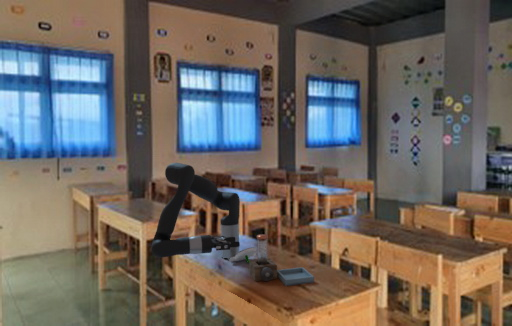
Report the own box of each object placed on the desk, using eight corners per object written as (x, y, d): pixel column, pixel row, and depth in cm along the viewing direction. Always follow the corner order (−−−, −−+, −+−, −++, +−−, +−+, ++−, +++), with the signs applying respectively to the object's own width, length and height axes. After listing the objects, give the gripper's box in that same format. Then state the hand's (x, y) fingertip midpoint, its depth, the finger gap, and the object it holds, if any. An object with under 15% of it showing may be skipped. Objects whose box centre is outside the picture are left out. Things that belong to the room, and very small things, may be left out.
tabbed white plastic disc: (251, 255, 210) (257, 239, 205) (259, 266, 205) (266, 250, 199) (226, 260, 202) (232, 244, 196) (234, 273, 196) (240, 256, 191)
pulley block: (249, 273, 186) (248, 260, 185) (270, 271, 188) (270, 258, 188) (256, 283, 174) (256, 269, 173) (279, 280, 176) (278, 266, 176)
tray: (276, 275, 182) (276, 270, 182) (302, 272, 185) (302, 267, 185) (285, 286, 170) (285, 280, 170) (314, 282, 173) (313, 276, 173)
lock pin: (256, 268, 183) (255, 234, 182) (266, 267, 185) (265, 233, 184) (259, 271, 179) (258, 237, 178) (269, 270, 180) (268, 236, 179)
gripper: (202, 239, 166) (240, 236, 170) (197, 232, 180) (233, 229, 184) (202, 258, 167) (241, 254, 171) (197, 249, 180) (233, 246, 185)
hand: (237, 241), depth 178 cm, fingers open, 8 cm apart
